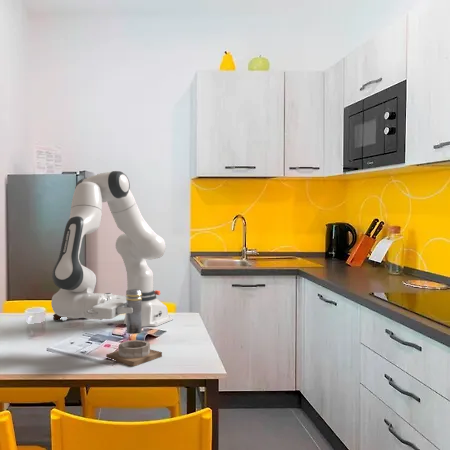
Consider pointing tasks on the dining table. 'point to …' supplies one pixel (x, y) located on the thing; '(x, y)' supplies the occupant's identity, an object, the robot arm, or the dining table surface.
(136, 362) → the collar plate
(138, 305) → the cylinder
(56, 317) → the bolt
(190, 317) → the dining table surface
